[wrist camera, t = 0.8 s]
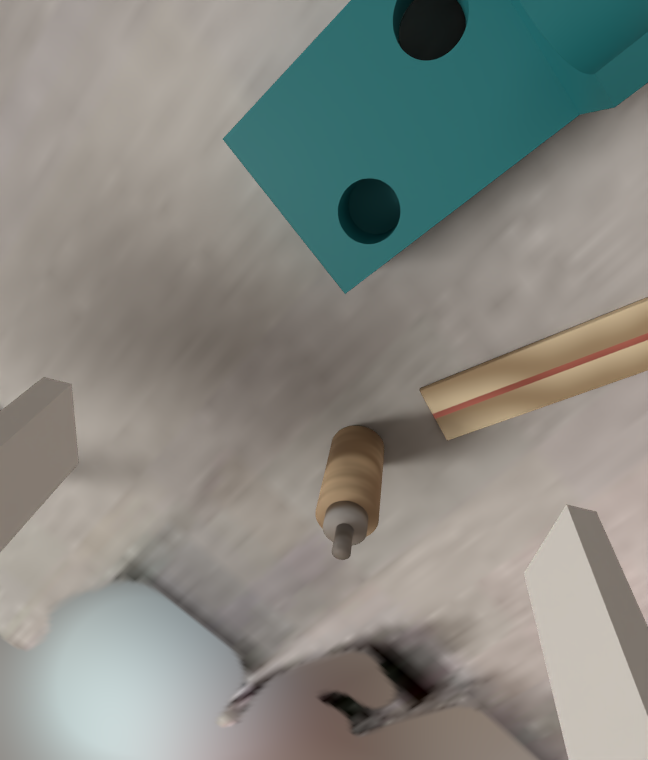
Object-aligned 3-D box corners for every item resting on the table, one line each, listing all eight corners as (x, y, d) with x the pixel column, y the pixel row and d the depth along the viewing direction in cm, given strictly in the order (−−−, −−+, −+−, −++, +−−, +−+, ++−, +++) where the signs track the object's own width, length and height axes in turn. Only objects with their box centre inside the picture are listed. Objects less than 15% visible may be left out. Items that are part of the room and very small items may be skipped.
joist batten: (419, 388, 38) (419, 391, 38) (649, 296, 32) (651, 298, 32) (446, 437, 40) (447, 440, 39) (669, 359, 34) (671, 361, 33)
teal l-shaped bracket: (509, -127, 24) (550, -293, 15) (622, 69, 26) (718, 29, 17) (253, 139, 32) (176, 138, 23) (357, 274, 34) (326, 323, 25)
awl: (322, 436, 42) (294, 538, 32) (368, 418, 40) (354, 520, 30) (347, 474, 43) (328, 583, 33) (393, 458, 41) (387, 567, 32)
